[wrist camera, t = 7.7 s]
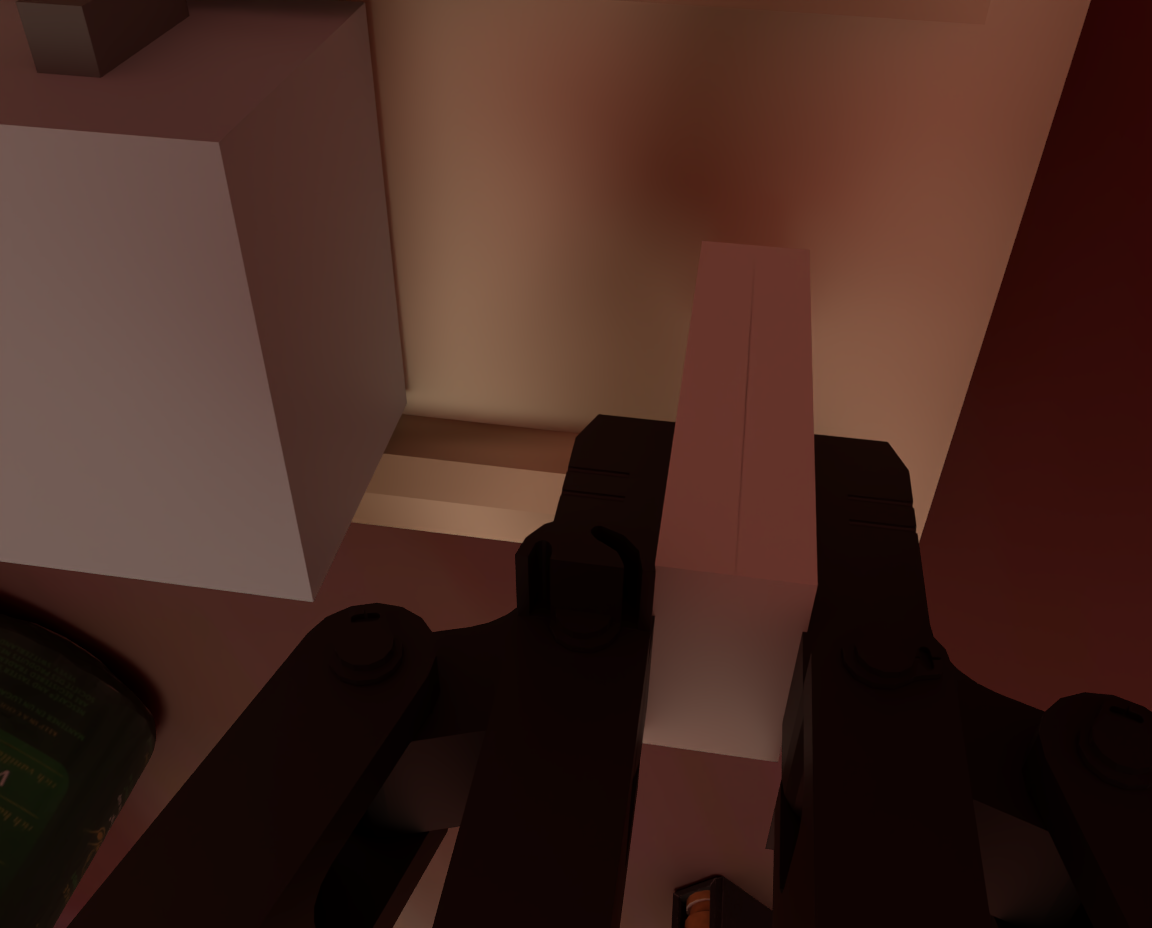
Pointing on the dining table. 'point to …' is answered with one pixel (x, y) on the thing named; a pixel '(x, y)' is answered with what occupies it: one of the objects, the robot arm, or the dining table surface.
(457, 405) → the board
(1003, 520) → the dining table surface
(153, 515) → the grey rectangular block
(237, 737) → the robot arm
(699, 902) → the ammunition clip
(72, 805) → the coffee jar
